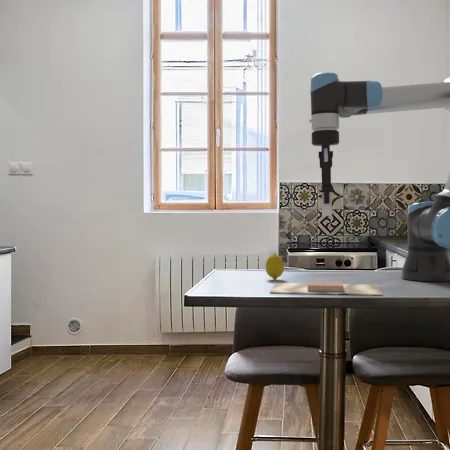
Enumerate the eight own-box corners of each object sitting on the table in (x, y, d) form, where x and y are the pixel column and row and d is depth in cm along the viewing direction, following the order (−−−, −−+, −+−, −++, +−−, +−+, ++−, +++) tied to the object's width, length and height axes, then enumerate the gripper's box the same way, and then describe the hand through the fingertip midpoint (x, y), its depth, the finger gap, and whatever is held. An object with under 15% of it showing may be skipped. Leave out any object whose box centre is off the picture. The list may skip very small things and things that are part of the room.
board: (376, 286, 163) (376, 284, 163) (382, 295, 145) (382, 294, 145) (275, 284, 168) (275, 283, 168) (269, 293, 150) (269, 291, 150)
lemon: (282, 281, 175) (282, 254, 175) (264, 280, 177) (264, 254, 176) (284, 278, 181) (284, 252, 181) (266, 278, 182) (266, 252, 182)
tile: (342, 281, 158) (343, 285, 149) (342, 287, 158) (343, 292, 149) (308, 281, 159) (307, 285, 150) (308, 286, 159) (307, 291, 150)
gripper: (311, 134, 169) (313, 215, 170) (311, 128, 156) (312, 216, 157) (338, 132, 168) (339, 215, 169) (339, 126, 155) (341, 216, 156)
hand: (326, 215), depth 163 cm, fingers closed
